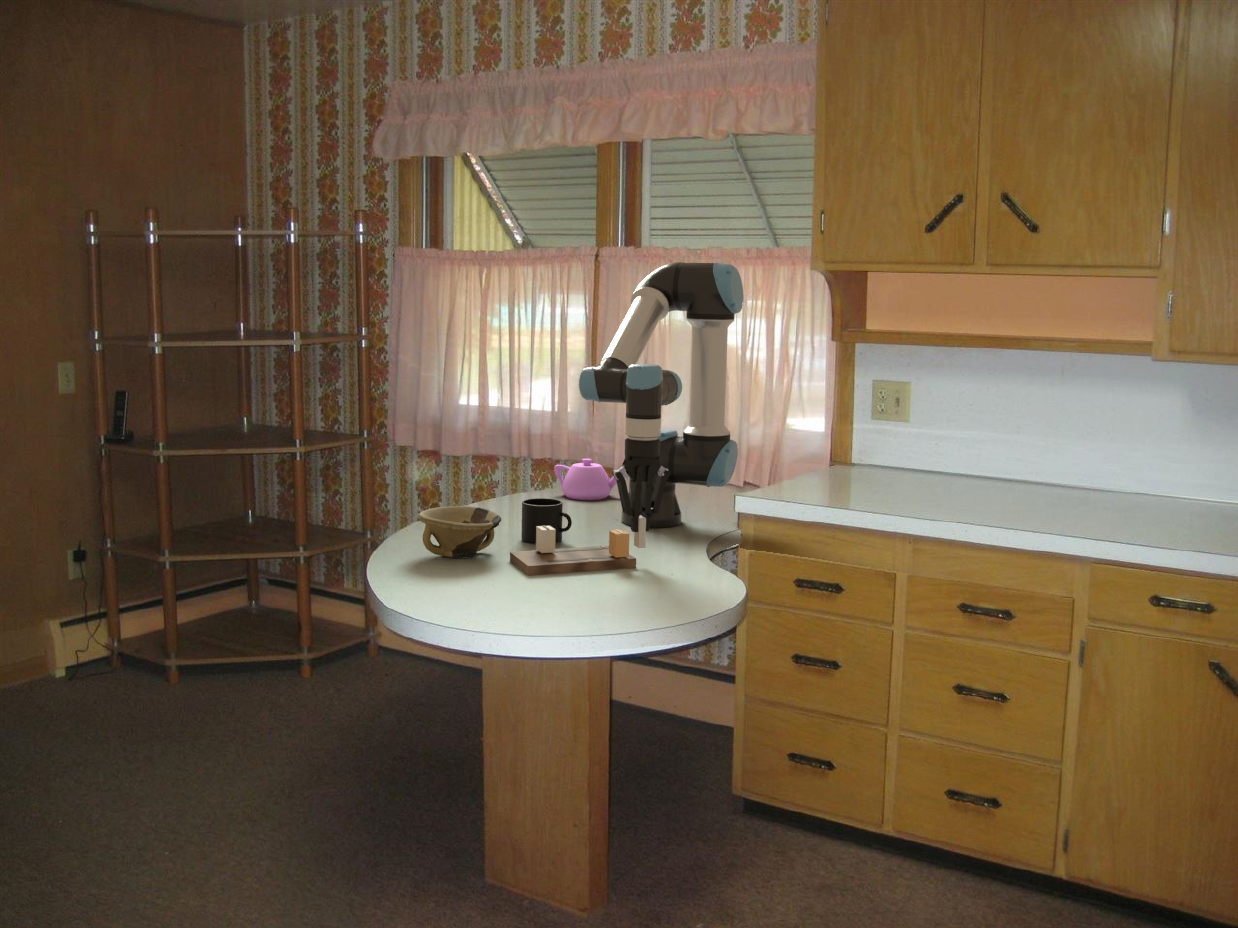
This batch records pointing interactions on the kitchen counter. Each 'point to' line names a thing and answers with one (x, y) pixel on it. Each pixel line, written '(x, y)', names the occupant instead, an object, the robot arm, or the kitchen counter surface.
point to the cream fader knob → (545, 539)
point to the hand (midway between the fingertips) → (639, 546)
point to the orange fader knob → (619, 543)
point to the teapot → (585, 481)
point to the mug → (542, 518)
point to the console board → (569, 560)
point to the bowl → (458, 530)
